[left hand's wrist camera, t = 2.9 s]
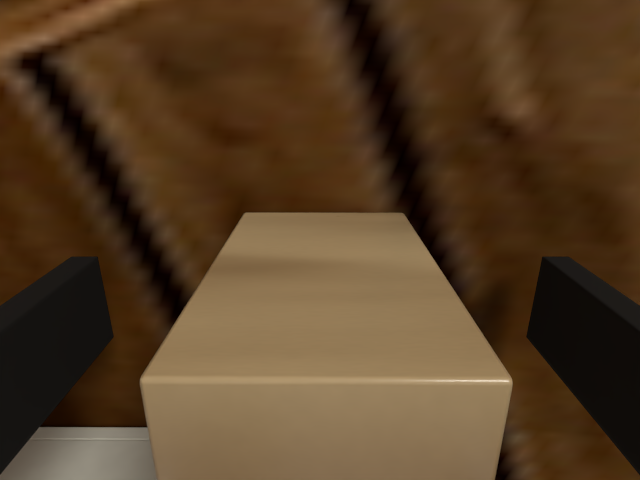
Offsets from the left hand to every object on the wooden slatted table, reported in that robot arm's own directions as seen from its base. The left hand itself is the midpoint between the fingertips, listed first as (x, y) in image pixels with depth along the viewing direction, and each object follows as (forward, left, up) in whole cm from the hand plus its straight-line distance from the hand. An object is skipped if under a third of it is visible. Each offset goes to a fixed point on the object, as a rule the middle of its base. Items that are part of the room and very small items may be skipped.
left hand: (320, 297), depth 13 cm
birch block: (0, 0, -1) cm, 1 cm away
